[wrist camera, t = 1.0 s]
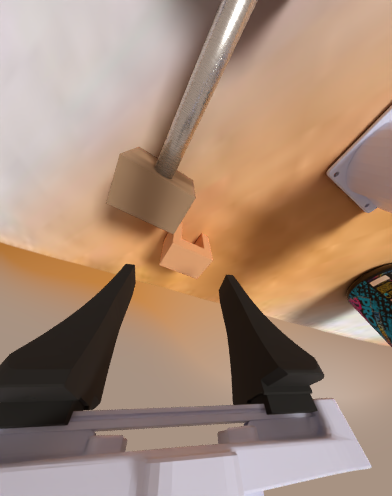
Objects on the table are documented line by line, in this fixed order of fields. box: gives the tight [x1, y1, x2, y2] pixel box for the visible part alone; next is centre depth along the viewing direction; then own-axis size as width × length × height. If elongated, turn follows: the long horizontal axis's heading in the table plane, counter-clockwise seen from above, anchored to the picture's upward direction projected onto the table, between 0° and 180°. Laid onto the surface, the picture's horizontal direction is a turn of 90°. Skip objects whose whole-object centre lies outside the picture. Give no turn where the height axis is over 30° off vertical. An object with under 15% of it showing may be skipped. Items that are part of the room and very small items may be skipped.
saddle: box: [159, 223, 213, 279], centre depth 20 cm, size 5×4×5 cm
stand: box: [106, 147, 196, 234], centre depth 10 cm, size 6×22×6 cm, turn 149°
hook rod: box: [154, 0, 258, 179], centre depth 9 cm, size 2×18×2 cm, turn 149°
